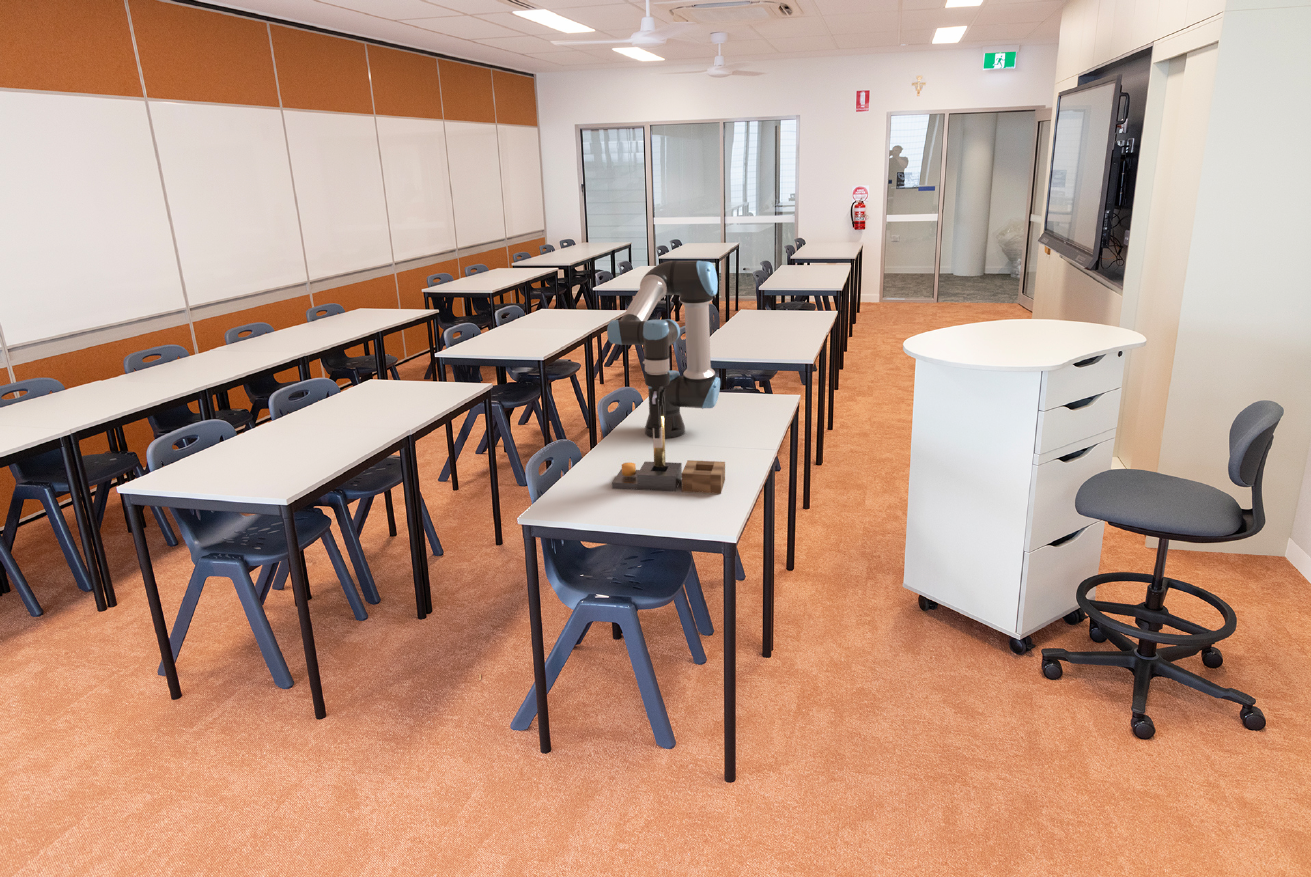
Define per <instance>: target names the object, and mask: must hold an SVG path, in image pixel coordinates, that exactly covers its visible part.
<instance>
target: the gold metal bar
mask: <svg viewBox="0 0 1311 877" xmlns="http://www.w3.org/2000/svg"><path fill="white" fill-rule="evenodd" d="M661 427H662V448H653V462H654V466H656V467H663V466H665V465H666V464H665V462H666V438H665V427H664V415H661Z"/></svg>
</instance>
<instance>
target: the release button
mask: <svg viewBox="0 0 1311 877" xmlns="http://www.w3.org/2000/svg"><path fill="white" fill-rule="evenodd" d="M636 466H637V465H636V463H635V462H630V461H629V462H624V463H622V464H621V469H622V475H624V476H633V475H635V474H636V470H637V469H636Z"/></svg>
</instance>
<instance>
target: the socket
mask: <svg viewBox="0 0 1311 877" xmlns="http://www.w3.org/2000/svg"><path fill="white" fill-rule="evenodd" d="M665 464H666V465H665V466H663V467H656V466H654V461H644V462H643V463H642V465H641V467H640V469H636V474H635V475H633V476H624V475H622V468H621V469H620V470H619V471H618V472H617V475H616V476H615V478H614V480H613V481H612V482H611V483H612V489H614V490H616V489H617V490H633V491H634V490H635V491H636V490H637V491H638V490H639V491H640V490H642V491H655V492H659V491H660V492H676V491H677V489H678V487H679V485H680V482H681V481H682V472H683V469H682V468H683V467H682V465H683V464H682V462H666V461H665Z"/></svg>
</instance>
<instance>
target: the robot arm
mask: <svg viewBox="0 0 1311 877" xmlns="http://www.w3.org/2000/svg"><path fill="white" fill-rule="evenodd" d="M718 284H719V283H718V275H717V271H716V268H715V266H714V264H713V263H712V262H710V261H704V260H703V261H702V260H668V261H664V262H661V263H659V264H657V265H656V266H654V267H653V268H651V269H650V270H648V271H647V273H645V274H644V275H643V277H642V278H641V281H640V283H639V290H638V291H637V293H635V296H634V298H633V299H632V301H631V302H630V304H629V305H628V307H627V309H626V310H625V312H624V314H623V315H622V317H621V318H620V319H612V320H610V321H609V322H608V325H607V328H606V329H607V330H606V334H607V340H608V342H609V343H610V344H613V345H620V346H623V345H626V346H627V345H629V346H630V345H631V346H632V345H633V346H643V358H644V360H643V361H642V364H643V365H644V371H645V373H644V384H645V385H646V386H647V390H648V411H649V413H648V417H647V418H646V423H645V426H644V432H645V435H646V436H649V437H651V438H652V440H653V441H652V442H653V445H652V446H653V447H652V448H653V449H654V448H662V427H661V415H664V427H665V439H669V438H671V437H672V438H677V437H680V436H682V435H684V434H685V433H686V427H685V424H684V419H683V418H682V415H681V408H691V409H693V408H694V409H702V410H704V409H713V408H715V406H717V405H716V404H717V402H718V400H719V396H720V390H721V389H720V388H721V378H720V377H718V376H716V372H715V370H714V369H713V368H712V366H711V365H712V364H711V341H710V340H711V336H710V335H711V334H710V331H711V330H710V306H709V305H710V303H711V302H712V301H713V299H714V296H716V295H717V294H718ZM671 295H673V296H679V302H680V303H681V304H682V305H683V306H684V308H683V309H684V326H685V327H684V328H685V347H686V348H685V350H686V369H685V370H684V372H683V375H680V372H679V371H678V370H670V369H671V368H670V346H671V345H672V344H674V343H676V341H677V340H678V339H679V337H680V335H681V328H680V325H679V324H678V323H677V322H676V321H675V320H673V319H670V318H669V319H668V318H667V319H650V320H649V318H650V317H651V314H652V313H653V311H654V309H655V308H656V306H657V304H658V303H659V301H660V300H662V299H663V298H664V297H665V296H671Z"/></svg>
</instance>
